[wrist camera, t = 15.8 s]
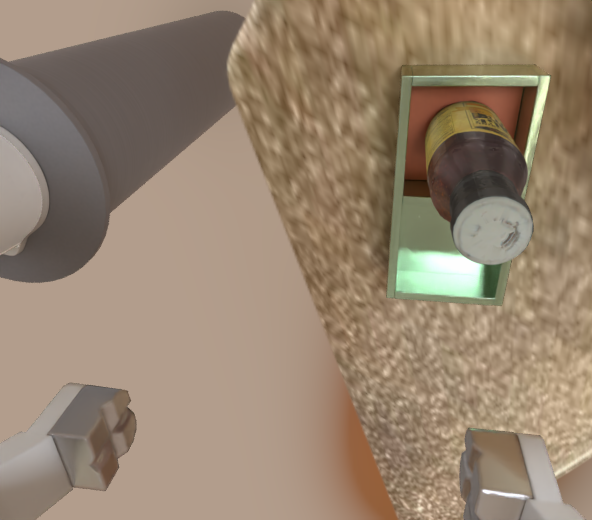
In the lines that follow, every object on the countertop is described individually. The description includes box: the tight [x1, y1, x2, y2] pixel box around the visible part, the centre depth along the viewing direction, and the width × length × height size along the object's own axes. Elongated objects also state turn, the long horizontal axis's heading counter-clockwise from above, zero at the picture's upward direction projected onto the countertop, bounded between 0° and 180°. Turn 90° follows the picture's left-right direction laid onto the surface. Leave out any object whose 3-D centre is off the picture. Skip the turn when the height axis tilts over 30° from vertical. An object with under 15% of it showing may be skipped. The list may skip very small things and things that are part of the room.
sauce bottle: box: [425, 100, 534, 265], centre depth 34 cm, size 7×6×20 cm
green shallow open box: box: [386, 64, 551, 306], centre depth 44 cm, size 11×20×5 cm, turn 2°
